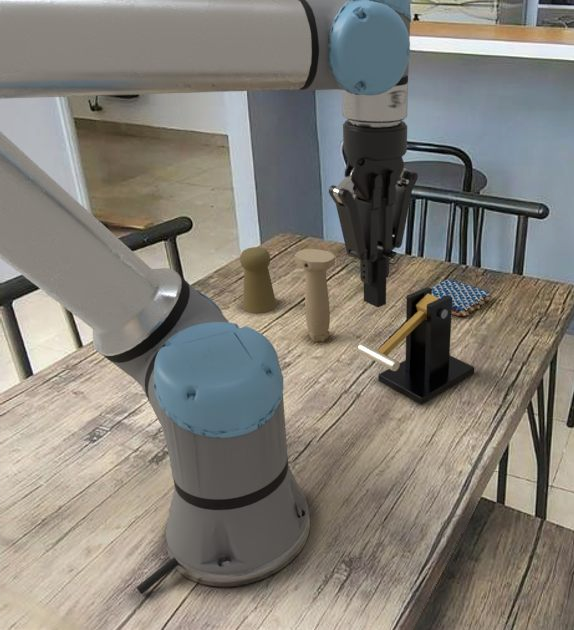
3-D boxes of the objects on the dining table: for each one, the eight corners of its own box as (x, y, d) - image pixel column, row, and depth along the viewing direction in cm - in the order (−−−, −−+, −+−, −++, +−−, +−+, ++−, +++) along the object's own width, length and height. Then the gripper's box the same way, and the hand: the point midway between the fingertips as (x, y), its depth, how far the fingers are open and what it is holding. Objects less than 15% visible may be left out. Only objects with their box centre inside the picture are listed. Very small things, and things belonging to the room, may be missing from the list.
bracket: (421, 405, 98) (423, 320, 91) (378, 380, 103) (377, 299, 97) (474, 373, 106) (479, 293, 99) (431, 352, 111) (434, 275, 105)
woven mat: (493, 299, 129) (494, 290, 128) (463, 320, 121) (464, 310, 120) (447, 285, 134) (448, 276, 133) (416, 304, 127) (416, 294, 126)
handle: (327, 349, 111) (323, 264, 104) (294, 340, 114) (288, 256, 107) (343, 336, 115) (340, 254, 108) (311, 327, 118) (306, 246, 111)
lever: (394, 375, 92) (390, 364, 91) (360, 356, 97) (355, 345, 95) (454, 315, 98) (451, 303, 97) (419, 299, 102) (415, 288, 101)
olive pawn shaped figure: (283, 303, 125) (279, 248, 120) (260, 316, 121) (254, 258, 116) (259, 295, 128) (254, 241, 123) (235, 307, 124) (229, 251, 119)
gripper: (355, 133, 73) (357, 328, 83) (436, 118, 81) (429, 297, 92) (310, 122, 77) (318, 308, 88) (392, 109, 86) (390, 280, 96)
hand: (374, 302), depth 90 cm, fingers closed
